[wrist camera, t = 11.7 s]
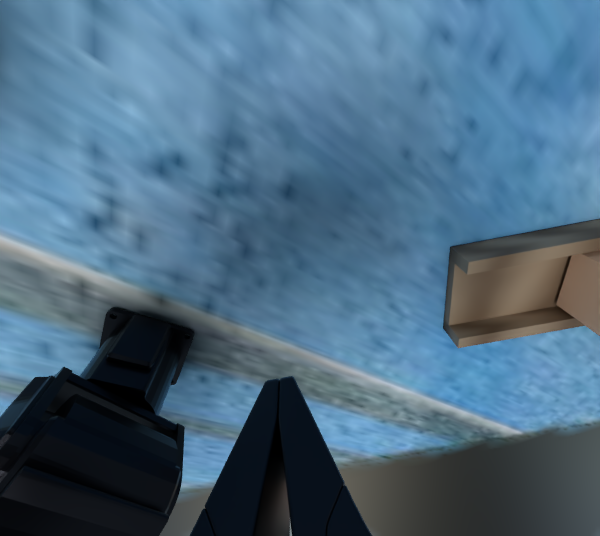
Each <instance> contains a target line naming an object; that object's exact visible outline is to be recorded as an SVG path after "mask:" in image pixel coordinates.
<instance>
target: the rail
mask: <svg viewBox="0 0 600 536" xmlns="http://www.w3.org/2000/svg"><path fill="white" fill-rule="evenodd" d="M599 250H600V219H597V220H591V221H586V222H581V223H575V224H570V225H565V226H559V227H554V228H549V229H543V230H538V231H533V232H527V233H522V234H517V235H511V236H506V237H501V238H495V239H490V240H485V241H479V242H474V243H469V244H463V245H458V246H453V247H450V257H449V269H448V280H447V292H446V303H445V315H444V326H443V328H444V330H445V331H446V333H447V334H448V335H449V337H450V338H451V339H452V341H453V342H454V343H455V345H456V346H457V347H458V348H461V347H467V346H473V345H478V344H484V343H490V342H495V341H501V340H506V339H512V338H518V337H523V336H529V335H535V334H540V333H546V332H551V331H557V330H563V329H568V328H574V327H579V326H585V325H584V324H582V323H581V322H580V321H578V320H577V319H575V318H574V317H573V316H571V315H570V314H569V313H567V312H566V311H564V310H563V309H562V308H560V307H559V306H557V305H556V303H557V300H558V297H559V294H560V291H561V288H562V285H563V281H564V278H565V275H566V272H567V269H568V266H569V263H570V260H571V256H572V255H577V254H582V253H588V252H593V251H599Z"/></svg>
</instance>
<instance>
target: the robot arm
mask: <svg viewBox="0 0 600 536" xmlns="http://www.w3.org/2000/svg"><path fill="white" fill-rule="evenodd" d="M113 314H115V315H116V316H115V315H113ZM186 334H188V335H189V336H187V335H186ZM193 337H194V331H193V330H191V329H188V328H185V327H181V326H178V325H174V324H171V323H167V322H164V321H160V320H157V319H153V318H149V317H146V316H142V315H139V314H135V313H132V312H128V311H125V310H121V309H118V308H111V309H110V310H109V311H108V312H107V314H106V317H105V322H104V327H103V332H102V338H101V343H100V348H99V350H98V352H97V353H96V355H95V356H94V357H93V359H92V360H91V361H90V363H89V364H88V366H87V367H86V368H85V370H84V371H83V373H82V374H81V375H80V376H78V375H76V374H74V373H72V370H70V369H68V368H65V367H63V368H62V369H61V370H60V371H59V372H58V373H57V374H56V375H55V376H49V377H35V378H34V379H33V380H32V381H31V382H30V383H29V384H28V385H27V387H26V388H25V389H24V390H23V391H22V392H21V393H20V394H19V396H18V397H17V398H16V399H15V400H14V401H13V402H12V404H11V405H10V406H9V407H8V408H7V409H6V410H5V412H4V413H3V414H2V415H1V416H0V536H159V535H160V533H161V531H162V530H163V528H164V526H165V525H166V523H167V522H168V519H169V516H170V514H171V512H172V510H173V508H174V506H175V503H176V500H177V498H178V495H179V491H180V487H181V482H182V468H183V448H184V429H185V427H184V426H182V425H180V424H178V423H177V424H175V423H173V422H171V421H169V420H167V419H165V418H163V417H161V416H159V413H160V410H161V408H162V405H163V403H164V400H165V397H166V395H167V392H168V389H169V387H170V385H174V384H176V382H177V379H178V377H179V374H180V372H181V369H182V366H183V364H184V361H185V358H186V356H187V353H188V351H189V348H190V345H191V343H192V340H193ZM205 508H206V509H203V510H202V512H201V514H200V516H199V518H198V520H197V522H196V524H195V526H194V528H193V530H192V532H191V534H190V536H289V535H290V534H289V533H290V532H289V531H290V521H291V529H292V536H372V535H371V533H370V531H369V529H368V528H367V526H366V524H365V523H364V520H363V518H362V516H361V514H360V513H359V511H358V509H357V507H356V505H355V503H354V501H353V499H352V497H351V495H350V493H349V490H348V489H347V486H345V483H344V480H343V478H342V476H341V474H340V472H339V470H338V468H337V466H336V464H335V462H334V460H333V457H332V455H331V453H330V451H329V449H328V447H327V445H326V443H325V441H324V439H323V437H322V435H321V433H320V430H319V428H318V426H317V424H316V422H315V420H314V418H313V416H312V414H311V412H310V410H309V408H308V406H307V403H306V401H305V399H304V397H303V395H302V393H301V391H300V389H299V387H298V385H297V383H296V381H295V379H294V377H293V376H289V377H284V378H281V379H280V380H279V379H272V380H268V381H266V382H265V384H264V386H263V388H262V390H261V392H260V394H259V396H258V398H257V400H256V402H255V404H254V406H253V408H252V410H251V412H250V414H249V416H248V418H247V420H246V422H245V425H244V427H243V429H242V431H241V433H240V435H239V437H238V439H237V441H236V443H235V445H234V447H233V449H232V451H231V453H230V455H229V457H228V459H227V461H226V463H225V465H224V467H223V469H222V472H221V474H220V476H219V478H218V480H217V482H216V484H215V486H214V488H213V490H212V492H211V494H210V496H209V498H208V500H207V502H206V504H205Z"/></svg>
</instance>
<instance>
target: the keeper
mask: <svg viewBox="0 0 600 536" xmlns="http://www.w3.org/2000/svg"><path fill="white" fill-rule="evenodd" d="M556 305H557V306H559V307H560V308H562V309H563V310H564V311H566V312H567V313H569V314H570V315H571V316H573V317H574V318H575V319H577V320H578V321H580V322H581V323H582V324H584V325H585V326H587V327H588V328H589V329H591V330H592V331H593V332H595V333H596V334H598V335H599V336H600V250H599V251H593V252H588V253H582V254H577V255H572V256H571V260H570V263H569V266H568V269H567V272H566V275H565V278H564V281H563V285H562V288H561V291H560V294H559V297H558V300H557V303H556Z"/></svg>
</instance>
